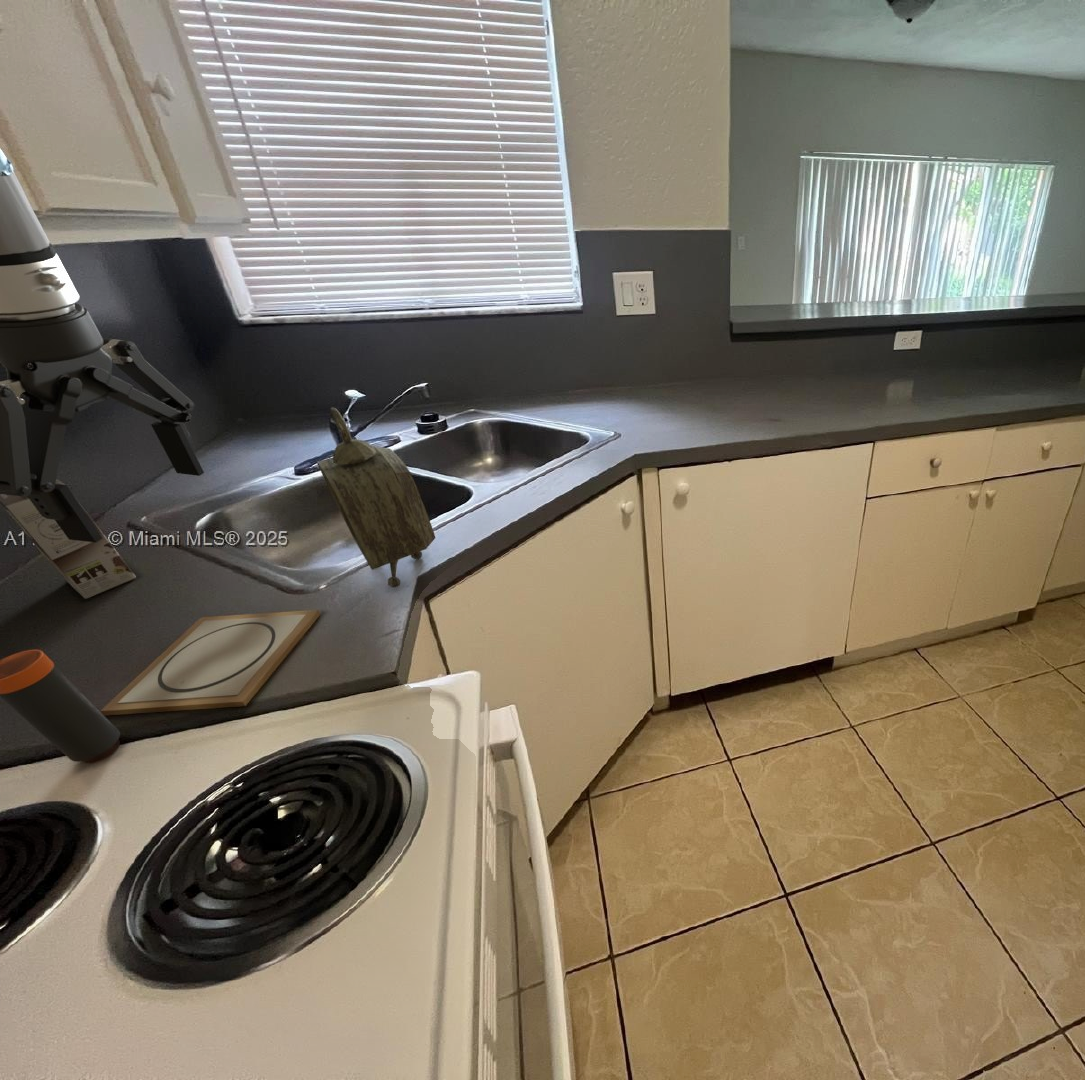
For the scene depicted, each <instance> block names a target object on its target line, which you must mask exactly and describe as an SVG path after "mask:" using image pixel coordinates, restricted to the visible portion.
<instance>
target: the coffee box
mask: <svg viewBox="0 0 1085 1080" xmlns="http://www.w3.org/2000/svg"><path fill="white" fill-rule="evenodd" d="M35 478H36V476H35ZM55 484H62V485H66V484H65V483H63V482H62V481H60V479H57V478H56V483H55ZM74 497H75V498H76V496H75V495H74ZM76 500H77V501H78V503H79V504H80V506H81V507H82V508H83V510H84V511H85V513H86V514H87V516H88V517H89V519H90V520H91V522H92V523H93V525H94V526H95V528H96V529H97V531H98V532H99V534H100V535H101V536H102V539H101V540H99V541H98V542H96V543H95V542H86V541H78V540H69V539H68V537H67V536H66V535H65V533H64V532H63V531H62V529H61V528H60V526H59V525H58V524H57V522H56V521H55V520H53V519H46V518H45V517H43V516H41V514H40V513H39V512H38V510H37V509H36V507H35V506H34V505H33V503H32V502H31V501H30V499H29V498H28V497H27V496H25V497H23V496H13V495H5V494H0V507H1V509H2V510H3V511H4V512H5V513H6V514H7V515H8V516H9V517H10V519H11V520H12V521H13V522H14V523H15V524H16V525H17V526H18V528H19V529H20V530H21V531H22V532H23V533H24V535H25V536H26V537H27V538H28V539H29V540H30V541H31V543H32V544H33V545H34V546H35V548H36V549H38V551H39V552H40V553H41V554H42V555H43V557H45V559H46V560H47V561H48V562H49V563H50V564H51V565H52V566H53V568H54V569H55V570H56V571H57V572H58V573H59V574H60V576H61V577H62V578H63V579H64V580H65V581H66V582H67V583H68V584H69V585H70V586H71V587H72V588H73V589H74V590H75V591H76V592H77V593H78V594H79V595H80V596H81V597H83V599H85V600H86V599H89V598H91V597H94V596H96V595H98V594H102V593H103V592H107V591H108V590H110V589H114V588H116V587H118V586H120V585H122V584H125V583H127V582H128V583H129V582H130V581H133V580H134V579H136V578H137V576H136V574H135V573H134V571H132V569H131V568H130V567H129V565H128V564H127V563H126V562H125V559H123V557H122V556H121V555H120V554H119V552H118V551H117V550H116V548H115V547H114V546H113V544H112V543H111V541H109V539H108V538H107V536H106V535H105V534H104V532H102V530H101V528H99V526H98V525H97V524H96V522H95V521H94V520H93V518H92V517H91V516H90V514H89V513H88V512H87V510H86V509H85V508H84V506H83V505H82V504H81V503H80V502H79V500H78V499H77V498H76Z"/></svg>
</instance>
